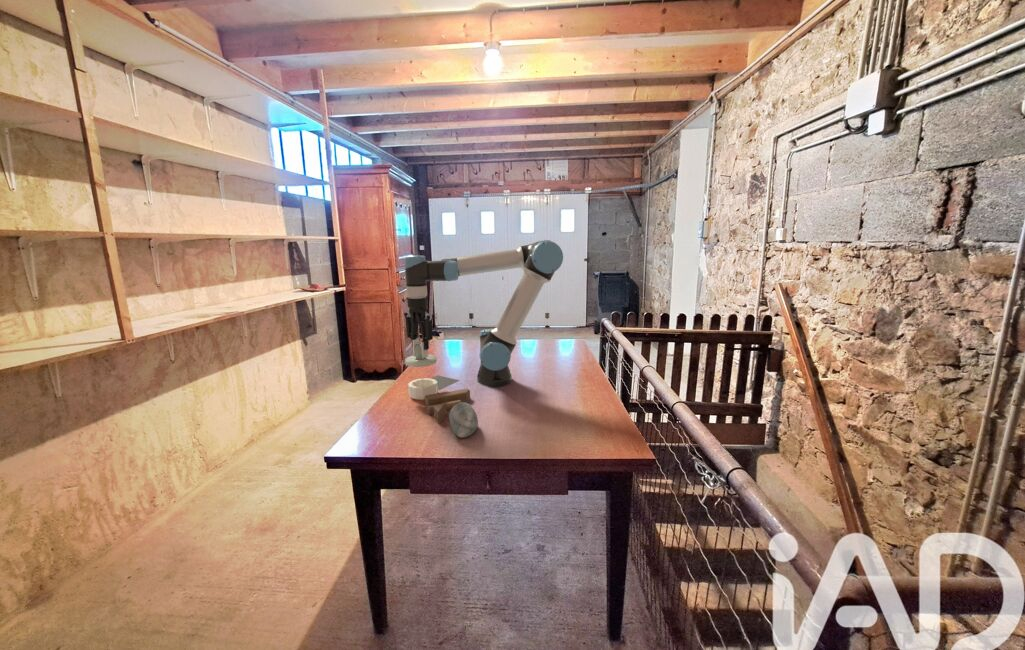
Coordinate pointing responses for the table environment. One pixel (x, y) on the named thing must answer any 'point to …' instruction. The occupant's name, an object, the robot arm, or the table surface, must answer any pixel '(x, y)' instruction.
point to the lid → (420, 359)
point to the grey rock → (463, 419)
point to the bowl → (422, 388)
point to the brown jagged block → (445, 402)
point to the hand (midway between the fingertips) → (420, 356)
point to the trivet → (444, 381)
